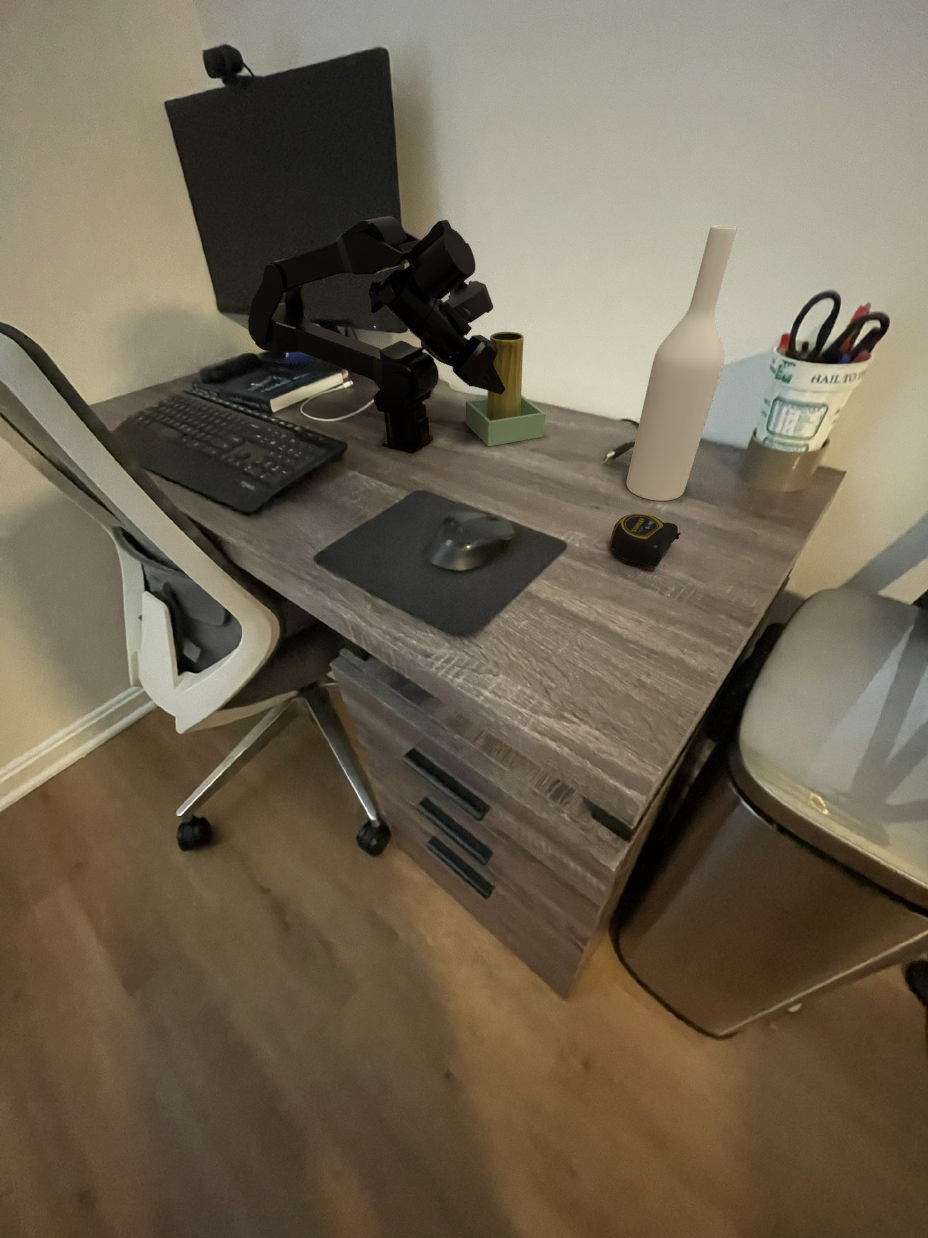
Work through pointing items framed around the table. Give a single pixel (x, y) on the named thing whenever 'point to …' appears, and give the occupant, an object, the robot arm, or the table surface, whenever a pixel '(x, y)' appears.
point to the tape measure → (643, 538)
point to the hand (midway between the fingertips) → (490, 382)
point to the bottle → (682, 384)
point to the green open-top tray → (505, 423)
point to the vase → (507, 376)
